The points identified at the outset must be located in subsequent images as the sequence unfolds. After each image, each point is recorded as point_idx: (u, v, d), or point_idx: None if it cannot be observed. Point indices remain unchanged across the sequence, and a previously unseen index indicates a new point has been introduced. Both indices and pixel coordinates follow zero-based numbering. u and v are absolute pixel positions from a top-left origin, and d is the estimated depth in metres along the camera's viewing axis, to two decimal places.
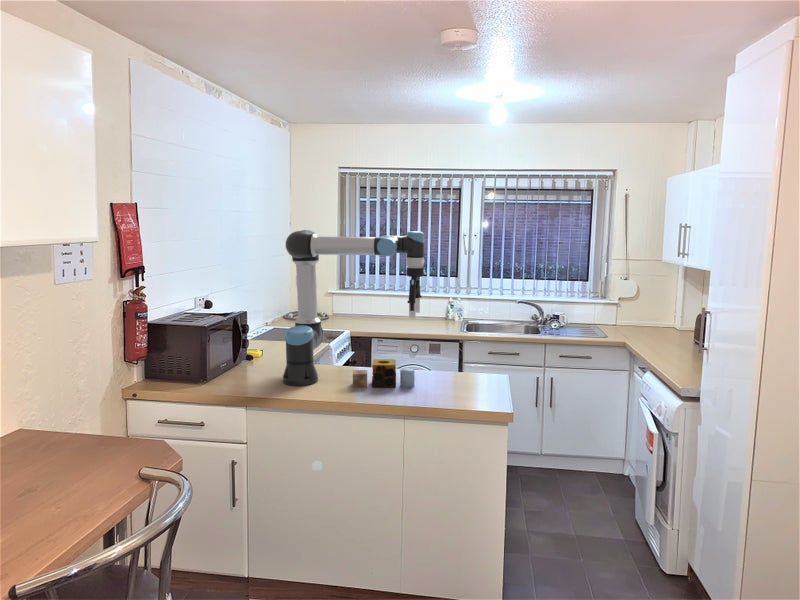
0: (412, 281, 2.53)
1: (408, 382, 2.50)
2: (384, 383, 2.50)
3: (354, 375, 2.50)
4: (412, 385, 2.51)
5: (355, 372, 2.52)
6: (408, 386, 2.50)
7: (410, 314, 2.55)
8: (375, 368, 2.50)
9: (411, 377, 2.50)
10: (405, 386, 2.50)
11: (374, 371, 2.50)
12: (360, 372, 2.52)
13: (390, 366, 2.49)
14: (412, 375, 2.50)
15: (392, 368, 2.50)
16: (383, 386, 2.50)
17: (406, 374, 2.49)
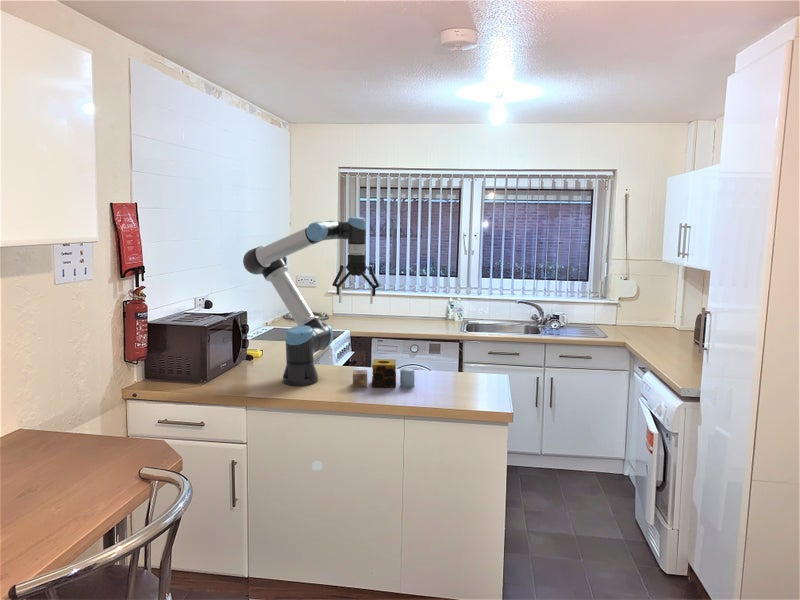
0: None
1: (408, 382, 2.50)
2: (384, 383, 2.50)
3: (354, 375, 2.50)
4: (412, 385, 2.51)
5: (355, 372, 2.52)
6: (408, 386, 2.50)
7: None
8: (375, 368, 2.50)
9: (411, 377, 2.50)
10: (405, 386, 2.50)
11: (374, 371, 2.50)
12: (360, 372, 2.52)
13: (390, 366, 2.49)
14: (412, 375, 2.50)
15: (392, 368, 2.50)
16: (383, 386, 2.50)
17: (406, 374, 2.49)
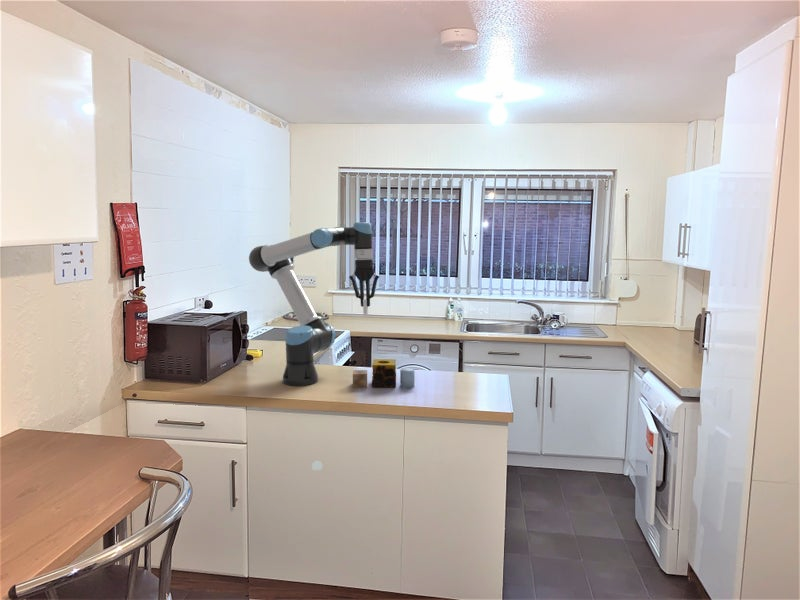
0: None
1: (408, 382, 2.50)
2: (384, 383, 2.50)
3: (354, 375, 2.50)
4: (412, 385, 2.51)
5: (355, 372, 2.52)
6: (408, 386, 2.50)
7: None
8: (375, 368, 2.50)
9: (411, 377, 2.50)
10: (405, 386, 2.50)
11: (374, 371, 2.50)
12: (360, 372, 2.52)
13: (390, 366, 2.49)
14: (412, 375, 2.50)
15: (392, 368, 2.50)
16: (383, 386, 2.50)
17: (406, 374, 2.49)
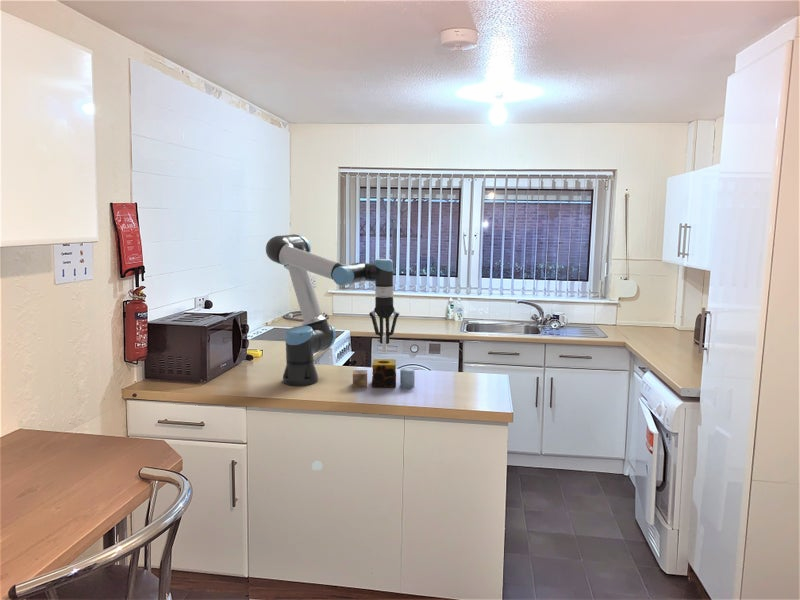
0: None
1: (408, 382, 2.50)
2: (384, 383, 2.50)
3: (354, 375, 2.50)
4: (412, 385, 2.51)
5: (355, 372, 2.52)
6: (408, 386, 2.50)
7: None
8: (375, 368, 2.50)
9: (411, 377, 2.50)
10: (405, 386, 2.50)
11: (374, 371, 2.50)
12: (360, 372, 2.52)
13: (390, 366, 2.49)
14: (412, 375, 2.50)
15: (392, 368, 2.50)
16: (383, 386, 2.50)
17: (406, 374, 2.49)
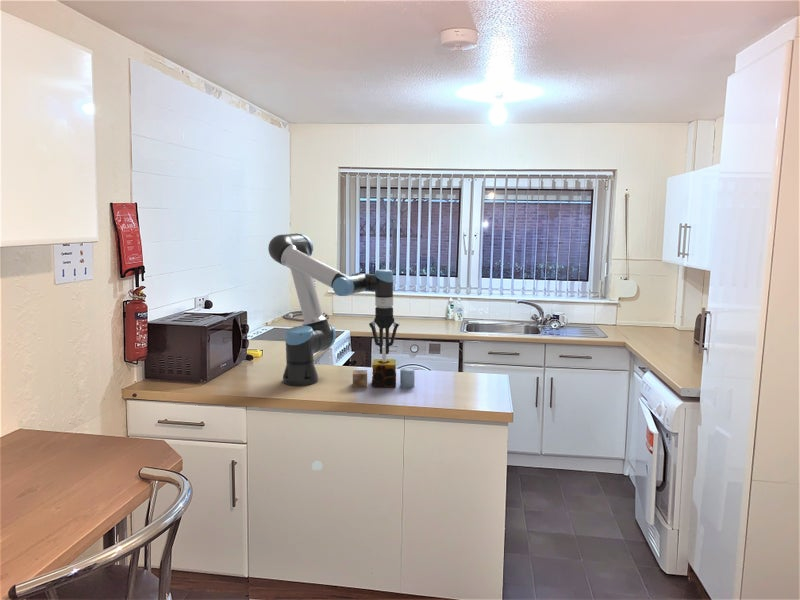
0: None
1: (408, 382, 2.50)
2: (384, 383, 2.50)
3: (354, 375, 2.50)
4: (412, 385, 2.51)
5: (355, 372, 2.52)
6: (408, 386, 2.50)
7: None
8: (375, 368, 2.50)
9: (411, 377, 2.50)
10: (405, 386, 2.50)
11: (374, 371, 2.50)
12: (360, 372, 2.52)
13: (390, 366, 2.49)
14: (412, 375, 2.50)
15: (392, 368, 2.50)
16: (383, 386, 2.50)
17: (406, 374, 2.49)
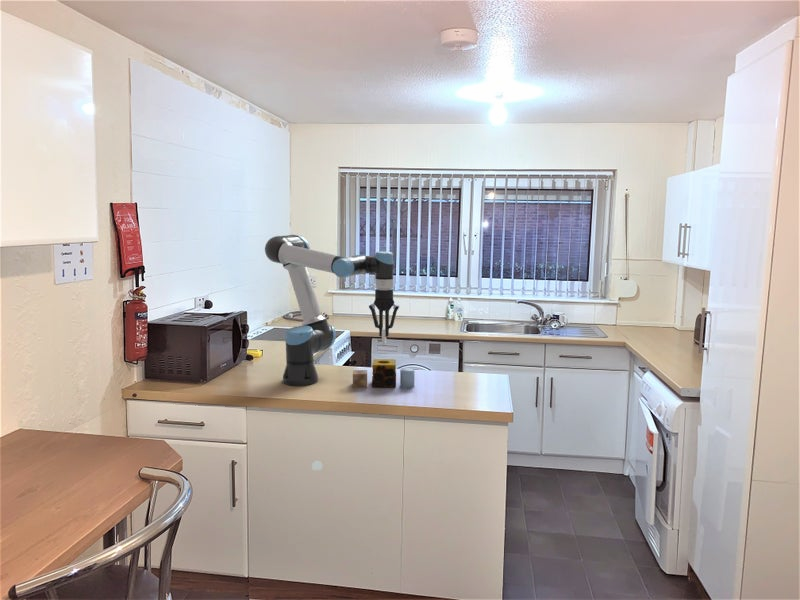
0: None
1: (408, 382, 2.50)
2: (384, 383, 2.50)
3: (354, 375, 2.50)
4: (412, 385, 2.51)
5: (355, 372, 2.52)
6: (408, 386, 2.50)
7: None
8: (375, 368, 2.50)
9: (411, 377, 2.50)
10: (405, 386, 2.50)
11: (374, 371, 2.50)
12: (360, 372, 2.52)
13: (390, 366, 2.49)
14: (412, 375, 2.50)
15: (392, 368, 2.50)
16: (383, 386, 2.50)
17: (406, 374, 2.49)
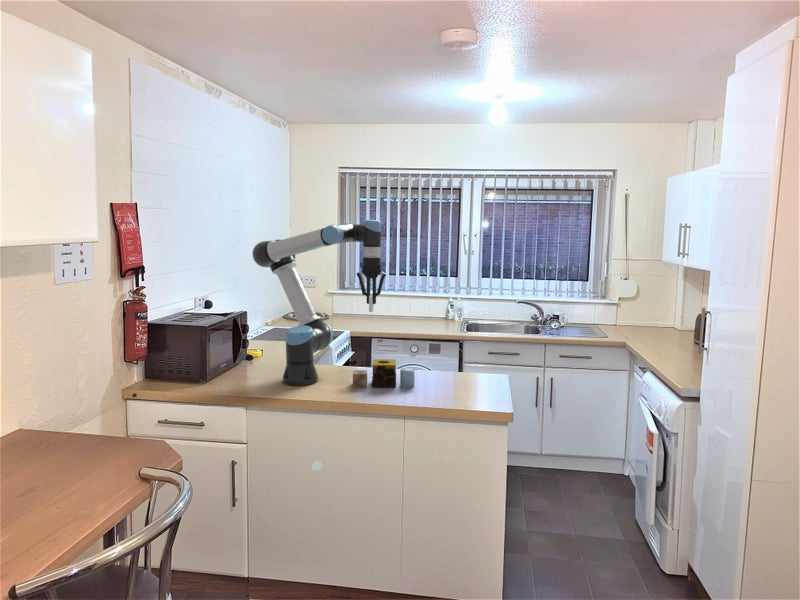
0: None
1: (408, 382, 2.50)
2: (384, 383, 2.50)
3: (354, 375, 2.50)
4: (412, 385, 2.51)
5: (355, 372, 2.52)
6: (408, 386, 2.50)
7: None
8: (375, 368, 2.50)
9: (411, 377, 2.50)
10: (405, 386, 2.50)
11: (374, 371, 2.50)
12: (360, 372, 2.52)
13: (390, 366, 2.49)
14: (412, 375, 2.50)
15: (392, 368, 2.50)
16: (383, 386, 2.50)
17: (406, 374, 2.49)
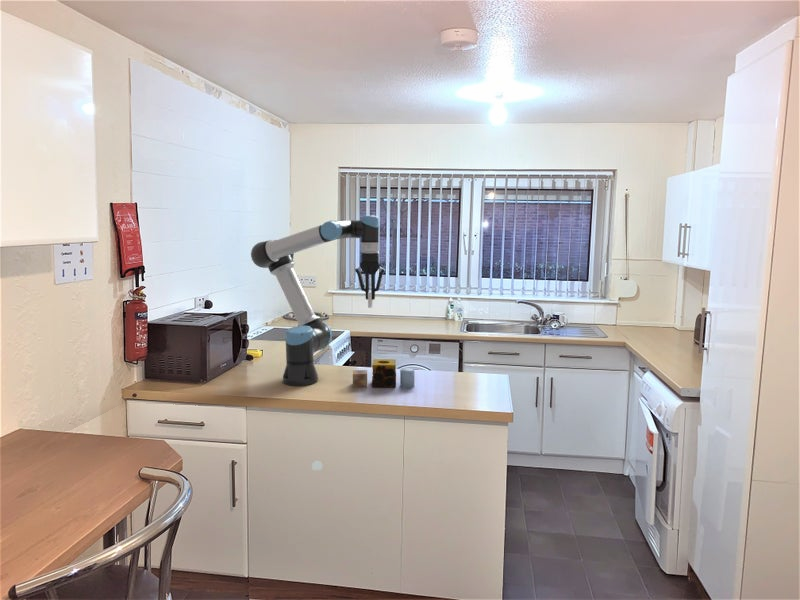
0: None
1: (408, 382, 2.50)
2: (384, 383, 2.50)
3: (354, 375, 2.50)
4: (412, 385, 2.51)
5: (355, 372, 2.52)
6: (408, 386, 2.50)
7: None
8: (375, 368, 2.50)
9: (411, 377, 2.50)
10: (405, 386, 2.50)
11: (374, 371, 2.50)
12: (360, 372, 2.52)
13: (390, 366, 2.49)
14: (412, 375, 2.50)
15: (392, 368, 2.50)
16: (383, 386, 2.50)
17: (406, 374, 2.49)
